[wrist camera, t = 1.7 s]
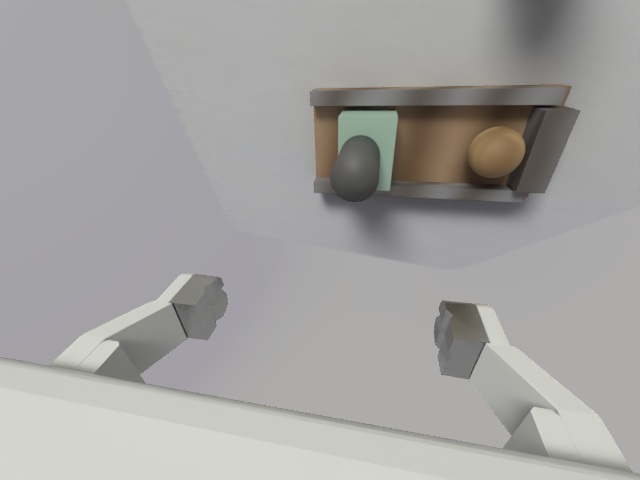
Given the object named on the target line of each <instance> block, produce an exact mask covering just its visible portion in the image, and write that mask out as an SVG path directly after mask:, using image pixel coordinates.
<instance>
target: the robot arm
mask: <svg viewBox="0 0 640 480" xmlns="http://www.w3.org/2000/svg"><path fill="white" fill-rule="evenodd" d="M223 285H224V284H223V281H222V279H221V278H219V277H214V276H207V275H198V274H189V273H183V274H181V275H180V276H179V277H178V278H177V279H176V280H175V281H174V282H173V283H172V284H171V285H170V286H169V287H168V289H167V290H166V291H165V292H164V293H163V294H162V295H161V296H160V297H159V298H158V299H157V300H156V301H151V302H149V303H147V304H144V305H142V306H140V307H138V308H136V309H134V310H132V311H130V312H128V313H126V314H124V315H122V316H120V317H118V318H116V319H114V320H112V321H109V322H107V323H105V324H103V325H101V326H99V327H97V328H95V329H93V330H91V331H89V332H87V333H85V334H83V335H81V336H80V337H79V338H78V339H77V340H76V341H75V342H74V343H73V344H72V345H71V346H69V347H68V348H67V349H66V350H65V351H64V352H63V353H62V354H61V355H60V356H59V357H58V358H56V359H55V360H54V361H53V362H52V363H51V364H50V365H49V366H47V365H41V364H36V363H31V362H25V361H20V360H14V359H9V358H3V357H0V480H640V474H638V473H633V472H632V470H631V468H630V467H629V465H628V463H627V462H626V460H625V458H624V457H623V455H622V453H621V452H620V450H619V448H618V447H617V445H616V443H615V442H614V440H613V438H612V437H611V435H610V433H609V432H608V430H607V428H606V427H605V425H604V424H603V422H602V420H601V418H600V417H599V416H598V415H597V414H596V413H595V412H594V411H592V410H591V409H590V408H588V407H587V406H586V405H585V404H584V403H583V402H582V401H580V400H579V399H578V398H577V397H576V396H574V395H573V394H572V393H571V392H569V391H568V390H567V389H566V388H565V387H563V386H562V385H561V384H560V383H559V382H557V381H556V380H555V379H554V378H553V377H551V376H550V375H549V374H548V373H547V372H545V371H544V370H543V369H542V368H541V367H539V366H538V365H537V364H536V363H535V362H533V361H532V360H531V359H530V358H529V357H527V356H526V355H525V354H524V353H522V352H521V351H520V350H519V349H518V348H516V347H513V346H510V344H509V342H508V340H507V337H506V335H505V333H504V331H503V329H502V326H501V324H500V322H499V320H498V318H497V315H496V313H495V311H494V309H493V307H492V306H491V305H485V304H472V303H462V302H452V301H442V302H441V303H440V306H439V312H440V316H438V317H437V318H436V321H435V326H434V338H435V345H436V346H437V347H438V348H439V349H440V350H439V354H438V361H439V366H440V371H441V375H447V376H453V377H458V378H465V379H469V382H470V383H471V384H472V385H473V387H474V388H475V389H476V390H477V392H478V393H479V394H480V396H481V397H482V398H483V399H484V401H485V402H486V403H487V405H488V406H489V407H490V409H491V410H492V411H493V412H494V414H495V415H496V416H497V417H498V419H499V420H500V421H501V423H502V424H503V425H504V426H505V428H506V429H507V430H508V432H509V433H510V434H511V435H512V436H511V438H510V439H509V440H508V442H507V443H506V444H505V446H504V447H503V449H501V448H496V447H491V446H484V445H479V444H474V443H468V442H463V441H458V440H452V439H447V438H441V437H436V436H430V435H425V434H419V433H414V432H408V431H403V430H397V429H392V428H386V427H380V426H375V425H370V424H364V423H359V422H354V421H348V420H343V419H337V418H331V417H326V416H321V415H315V414H310V413H304V412H298V411H293V410H288V409H282V408H277V407H271V406H266V405H260V404H255V403H249V402H243V401H238V400H233V399H227V398H221V397H216V396H211V395H205V394H200V393H194V392H189V391H183V390H177V389H172V388H167V387H161V386H156V385H150V384H146V383H145V382H144V380H143V379H142V377H141V375H140V374H141V373H142V372H144V371H145V370H146V369H148V368H149V367H150V366H152V365H153V364H154V363H156V362H157V361H158V360H160V359H161V358H162V357H164V356H165V355H166V354H168V353H169V352H170V351H172V350H173V349H174V348H176V347H177V346H178V345H180V344H181V343H182V342H184V341H185V340H186V339H187V338H194V339H202V340H208V339H209V338H210V336H211V334H212V333H213V331H214V329H215V328H216V321H217V320H218V319H220V318H221V317H222V316H223V315H224V313H225V311H226V308H227V304H228V302H227V301H228V300H227V294H226V293H225V292H224V291H223V290H222V287H223Z"/></svg>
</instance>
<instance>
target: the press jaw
mask: <svg viewBox="0 0 640 480" xmlns="http://www.w3.org/2000/svg"><path fill="white" fill-rule="evenodd" d="M397 122H398V114H397V110H396V109H344V110H343V111H342V112H341V114H340V115H339V116H338V157H337V159H336V161H335V164H334V166H333V168H332V171H331V174H330V182H331V186H332V188H333V190H334V192H335V193H336V194H337V195H338V196H339V197H341V198H342V199H344V200H347V201H352V202H358V201H362V200H365V199H367V198H369V197H370V196H371V195H372V194H373V193H374V192H375V191H376V190H381V191H390V184H391V175H392V166H393V157H394V148H395V140H396V131H397Z"/></svg>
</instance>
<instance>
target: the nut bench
mask: <svg viewBox="0 0 640 480" xmlns="http://www.w3.org/2000/svg"><path fill="white" fill-rule="evenodd" d="M571 87H572V86H567V85H512V86H449V87H386V88H323V89H314V90H312V91H310V106H314V124H315V151H316V179H315V181H314V193H333V194H336V193H335V192H334V190H333V188H332V186H331V182H330V174H331V171H332V168H333V166H334V164H335V161H336V159H337V157H338V116H339V115H340V114H341V112H342V111H343V110H344V109H396V110H397V114H398V122H397V131H396V140H395V148H394V157H393V166H392V175H391V184H390V191H381V190H376V191H375V192H374V193H373V194H372V195H374V196H395V197H415V198H435V199H456V200H476V201H497V202H517V203H522V202H523V200H524V197H527V196H528V194H529V193H545V191H546V189H547V186H548V184H549V182H550V179H551V177H552V175H553V173H554V170H555V168H556V166H557V163H558V161H559V159H560V156H561V154H562V152H563V149H564V147H565V145H566V143H567V140H568V138H569V136H570V133H571V131H572V129H573V126H574V124H575V122H576V120H577V117H578V115H579V113H580V110H576V109H573V108H569V107H565V106H564V104H565V102H566V99H567V97H568V94H569V92H570V89H571ZM498 126H504V127H509V128H512V129H514V130H516V131H517V132H518V133H519V134H520V135H521V136H522V138H523V139H524V142H525V154H524V157H523V159H522V161H521V163H520V164H519V166H518V167H517V168H516V169H514V170H513V171H512V172H510V173H509V174H507V175H504V176H501V177H497V178H487V177H483V176H480V175H478V174H477V173H475V172H474V171H473V170H472V169H471V167H470V165H469V163H468V158H467V153H468V149H469V146H470V144H471V143H472V141H473V140H474V138H475V137H476V136H477V135H479V134H480V133H481V132H483V131H485V130H487V129H489V128H492V127H498Z"/></svg>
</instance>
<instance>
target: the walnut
mask: <svg viewBox="0 0 640 480" xmlns="http://www.w3.org/2000/svg"><path fill="white" fill-rule="evenodd" d="M524 154H525V142H524V139H523V138H522V136H521V135H520V134H519V133H518V132H517V131H516V130H514V129H512V128H509V127H504V126H498V127H492V128H489V129H487V130H485V131H483V132H481V133H480V134H479V135H477V136H476V137H475V138H474V140H473V141H472V143H471V144H470V146H469V149H468V153H467V158H468V163H469V165H470V167H471V169H472V170H473V171H474V172H475V173H477V174H478V175H480V176H483V177H487V178H497V177H501V176H504V175H507V174H509V173H510V172H512V171H513V170H514V169H516V168H517V167H518V166H519V164H520V163H521V161H522V159H523V157H524Z"/></svg>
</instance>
